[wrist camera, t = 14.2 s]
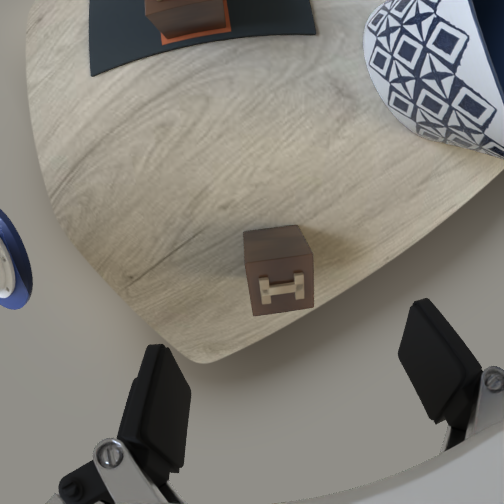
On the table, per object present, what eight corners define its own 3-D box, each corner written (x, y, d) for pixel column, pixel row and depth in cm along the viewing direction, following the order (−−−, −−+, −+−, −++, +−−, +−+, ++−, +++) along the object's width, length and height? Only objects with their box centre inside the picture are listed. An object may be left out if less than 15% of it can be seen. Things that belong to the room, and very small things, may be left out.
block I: (250, 277, 27) (253, 319, 21) (243, 231, 25) (244, 265, 19) (300, 271, 27) (315, 310, 21) (297, 224, 25) (314, 256, 19)
